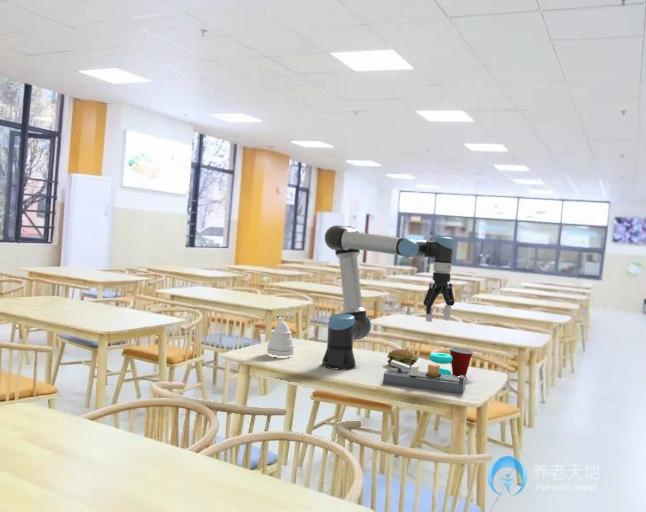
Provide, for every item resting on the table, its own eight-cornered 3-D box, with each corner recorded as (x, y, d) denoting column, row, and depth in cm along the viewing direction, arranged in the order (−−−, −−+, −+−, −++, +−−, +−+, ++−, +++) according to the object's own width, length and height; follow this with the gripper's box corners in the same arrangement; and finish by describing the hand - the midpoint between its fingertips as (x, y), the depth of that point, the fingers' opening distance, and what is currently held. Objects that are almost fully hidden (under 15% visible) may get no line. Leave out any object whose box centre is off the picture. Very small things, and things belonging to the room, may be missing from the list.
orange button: (426, 377, 248) (427, 365, 248) (428, 375, 252) (428, 363, 252) (438, 378, 246) (439, 367, 246) (439, 376, 251) (440, 365, 251)
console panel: (383, 383, 246) (384, 367, 246) (389, 376, 259) (390, 362, 258) (462, 394, 237) (463, 378, 236) (465, 386, 249) (466, 371, 249)
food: (422, 369, 278) (423, 352, 277) (395, 370, 273) (396, 352, 273) (408, 362, 291) (409, 346, 290) (381, 363, 286) (383, 346, 285)
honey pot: (263, 353, 292) (265, 316, 291) (287, 352, 297) (290, 316, 296) (272, 358, 280) (274, 320, 279) (297, 358, 285) (300, 320, 285)
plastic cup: (472, 379, 263) (474, 352, 263) (447, 376, 265) (449, 350, 265) (471, 374, 274) (473, 348, 274) (447, 371, 276) (449, 345, 276)
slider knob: (410, 375, 244) (410, 366, 244) (411, 373, 248) (412, 364, 247) (416, 376, 243) (416, 367, 243) (417, 374, 247) (418, 365, 247)
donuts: (429, 355, 260) (430, 351, 270) (427, 378, 261) (428, 373, 271) (452, 357, 258) (452, 353, 268) (450, 380, 259) (451, 375, 268)
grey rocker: (390, 364, 253) (391, 361, 253) (391, 363, 257) (392, 359, 256) (408, 370, 251) (409, 367, 251) (409, 369, 254) (410, 365, 254)
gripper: (432, 273, 251) (428, 323, 252) (465, 273, 268) (460, 320, 269) (417, 271, 256) (413, 320, 257) (450, 271, 273) (446, 317, 274)
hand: (437, 320), depth 263 cm, fingers open, 13 cm apart
